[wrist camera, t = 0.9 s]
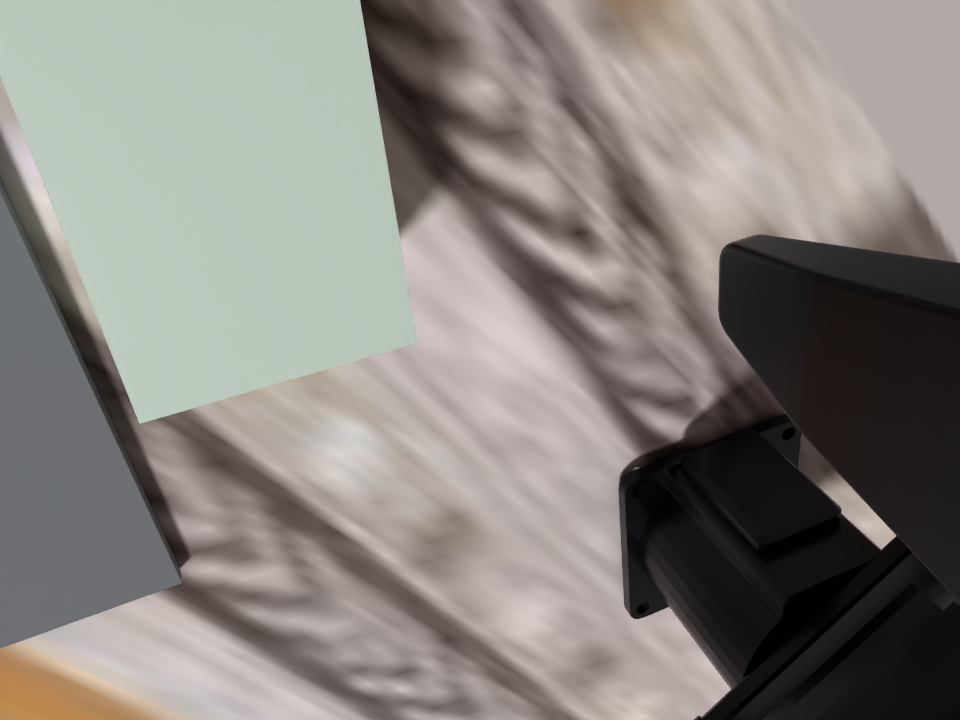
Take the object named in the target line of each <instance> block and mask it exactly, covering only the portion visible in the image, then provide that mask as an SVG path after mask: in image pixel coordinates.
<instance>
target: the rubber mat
mask: <svg viewBox="0 0 960 720" xmlns="http://www.w3.org/2000/svg"><path fill="white" fill-rule="evenodd" d="M181 583H182V579H181V572H180V568H179V566H178V564H177V562H176V560H175V557H174V555H173V553H172V551H171V549H170V547H169V544H168V542H167V540H166V538H165V536H164V533H163V531H162V529H161V527H160V525H159V523H158V520H157V518H156V516H155V514H154V512H153V510H152V507H151V505H150V503H149V501H148V499H147V497H146V494H145V492H144V490H143V488H142V486H141V484H140V481H139V479H138V477H137V475H136V473H135V471H134V468H133V466H132V464H131V462H130V460H129V458H128V455H127V453H126V451H125V449H124V447H123V445H122V442H121V440H120V438H119V436H118V434H117V432H116V429H115V427H114V425H113V423H112V421H111V418H110V416H109V414H108V412H107V410H106V408H105V405H104V403H103V401H102V399H101V397H100V395H99V392H98V390H97V388H96V386H95V384H94V382H93V379H92V377H91V375H90V373H89V371H88V369H87V366H86V364H85V362H84V360H83V358H82V356H81V353H80V351H79V349H78V347H77V345H76V343H75V340H74V338H73V336H72V334H71V332H70V330H69V327H68V325H67V323H66V321H65V319H64V317H63V314H62V312H61V310H60V308H59V306H58V303H57V301H56V299H55V297H54V295H53V293H52V290H51V288H50V286H49V284H48V282H47V280H46V277H45V275H44V273H43V271H42V269H41V267H40V264H39V262H38V260H37V258H36V256H35V254H34V251H33V249H32V247H31V245H30V243H29V241H28V238H27V236H26V234H25V232H24V230H23V228H22V225H21V223H20V221H19V219H18V217H17V215H16V212H15V210H14V208H13V206H12V204H11V202H10V199H9V197H8V195H7V193H6V191H5V189H4V186H3V184H2V182H1V180H0V648H3V647H6V646H8V645H11V644H14V643H17V642H19V641H22V640H25V639H28V638H31V637H33V636H36V635H39V634H42V633H44V632H47V631H50V630H53V629H56V628H58V627H61V626H64V625H67V624H69V623H72V622H75V621H78V620H81V619H83V618H86V617H89V616H92V615H94V614H97V613H100V612H103V611H106V610H108V609H111V608H114V607H117V606H119V605H122V604H125V603H128V602H131V601H133V600H136V599H139V598H142V597H144V596H147V595H150V594H153V593H156V592H158V591H161V590H164V589H167V588H169V587H172V586H175V585H178V584H181Z"/></svg>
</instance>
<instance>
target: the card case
mask: <svg viewBox="0 0 960 720" xmlns="http://www.w3.org/2000/svg"><path fill="white" fill-rule="evenodd" d="M0 76H1V79H2V81H3V84H4V86H5V89H6V91H7V94H8V96H9V99H10V101H11V104H12V106H13V109H14V111H15V114H16V116H17V119H18V121H19V124H20V126H21V129H22V131H23V134H24V136H25V139H26V141H27V144H28V146H29V149H30V151H31V154H32V156H33V159H34V161H35V164H36V166H37V169H38V171H39V174H40V176H41V179H42V181H43V184H44V186H45V189H46V191H47V194H48V196H49V199H50V201H51V204H52V206H53V209H54V211H55V214H56V216H57V219H58V221H59V224H60V226H61V229H62V231H63V234H64V236H65V239H66V241H67V244H68V246H69V249H70V251H71V254H72V256H73V259H74V261H75V264H76V266H77V269H78V271H79V274H80V276H81V279H82V281H83V283H84V286H85V288H86V291H87V293H88V296H89V298H90V301H91V303H92V306H93V308H94V311H95V313H96V316H97V318H98V321H99V323H100V326H101V328H102V331H103V333H104V336H105V338H106V341H107V343H108V346H109V348H110V351H111V353H112V356H113V358H114V361H115V363H116V366H117V368H118V371H119V373H120V376H121V378H122V381H123V383H124V386H125V388H126V391H127V393H128V396H129V398H130V401H131V403H132V406H133V408H134V411H135V413H136V416H137V418H138V421H139V423H144V422H147V421H151V420H154V419H158V418H161V417H164V416H168V415H171V414H175V413H178V412H182V411H185V410H189V409H192V408H195V407H199V406H202V405H206V404H209V403H213V402H216V401H219V400H223V399H226V398H230V397H233V396H237V395H240V394H243V393H247V392H250V391H254V390H257V389H261V388H264V387H267V386H271V385H274V384H278V383H281V382H285V381H288V380H292V379H295V378H298V377H302V376H305V375H309V374H312V373H316V372H319V371H322V370H326V369H329V368H333V367H336V366H340V365H343V364H346V363H350V362H353V361H357V360H360V359H364V358H367V357H371V356H374V355H377V354H381V353H384V352H388V351H391V350H395V349H398V348H401V347H405V346H408V345H412V344H415V343H417V338H416V332H415V326H414V320H413V314H412V308H411V302H410V296H409V290H408V284H407V278H406V272H405V266H404V260H403V254H402V248H401V242H400V236H399V230H398V224H397V218H396V212H395V206H394V200H393V195H392V189H391V183H390V177H389V171H388V165H387V159H386V153H385V147H384V141H383V135H382V129H381V123H380V117H379V111H378V105H377V99H376V93H375V87H374V81H373V75H372V69H371V63H370V57H369V51H368V45H367V39H366V33H365V27H364V21H363V15H362V9H361V3H360V0H0Z"/></svg>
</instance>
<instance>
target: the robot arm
mask: <svg viewBox="0 0 960 720" xmlns="http://www.w3.org/2000/svg"><path fill="white" fill-rule="evenodd" d="M718 312H719V318H720V322H721V325H722V327H723V329H724V331H725V332H726V334H727V335H728V337H729V338H730V339H731V341H732V342H733V343H734V345H735V346H736V347H737V349H738V350H739V351H740V353H741V354H742V356H743V357H744V358H745V360H746V361H747V362H748V364H749V365H750V366H751V368H752V369H753V370H754V372H755V373H756V374H757V376H758V377H759V378H760V380H761V381H762V382H763V384H764V385H765V386H766V388H767V389H768V390H769V392H770V393H771V394H772V396H773V397H774V398H775V400H776V401H777V402H778V404H779V405H780V406H781V408H782V409H783V411H784V412H785V413H786V414H785V415H781V416H778V417H775V418H773V419H770V420H767V421H765V422H762V423H759V424H757V425H754V426H751V427H749V428H746V429H744V430H741V431H738V432H736V433H733V434H730V435H728V436H725V437H722V438H720V439H717V440H714V441H712V442H709V443H706V444H704V445H701V446H698V447H696V448H693V449H690V450H688V451H685V452H682V453H680V454H677V455H674V456H672V457H669V458H666V459H664V460H661V461H658V462H656V463H653V464H650V465H648V466H645V467H642V468H640V469H637V470H634V471H632V472H630V473H628V474H627V475H625V476H624V477H623V478H622V480H621V482H620V483H619V507H620V527H621V547H622V567H623V587H624V605H625V608H626V610H627V611H628V613H629V614H630V616H631V617H632V618H634V619H640V618H643V617H646V616H648V615H651V614H653V613H655V612H658V611H660V610H662V609H665V608H667V607H670V608H671V609H672V611H673V612H674V613H675V615H676V616H677V617H678V619H679V620H680V621H681V623H682V624H683V625H684V627H685V628H686V629H687V631H688V632H689V633H690V635H691V636H692V637H693V639H694V640H695V641H696V643H697V644H698V645H699V647H700V648H701V649H702V651H703V652H704V653H705V655H706V656H707V658H708V659H709V660H710V662H711V663H712V664H713V666H714V667H715V668H716V670H717V671H718V672H719V674H720V675H721V676H722V678H723V679H724V680H725V682H726V683H727V684H728V686H729V687H730V688H731V690H730V691H729V692H728V693H727V694H726V695H725V696H724V697H723V698H722V699H721V700H720V701H719V702H717V703H716V704H715V705H714V706H713V707H712V708H711V709H710V710H709V711H708V712H707V713H706V714H705V715H703V716H702V717H700V716H697V717H696V718H695V719H694V720H960V263H955V262H949V261H942V260H935V259H928V258H921V257H914V256H907V255H900V254H893V253H886V252H879V251H872V250H866V249H859V248H852V247H845V246H838V245H831V244H824V243H817V242H810V241H803V240H796V239H789V238H782V237H776V236H769V235H753V236H750V237H747V238H744V239H741V240H738V241H734V242H731V243H729V244H727V245H726V246H725V247H724V248H723V250H722V252H721V255H720V262H719V300H718ZM801 433H802V434H803V435H804V436H805V437H806V439H807V440H808V441H809V442H810V443H811V444H812V445H813V446H814V447H815V449H816V450H817V451H818V452H819V453H820V454H821V455H822V456H823V457H824V458H825V459H826V460H827V461H828V462H829V464H830V465H831V466H832V467H833V468H834V469H835V470H836V471H837V472H838V473H839V474H840V475H841V476H842V478H843V479H844V480H845V481H846V482H847V483H848V484H849V485H850V486H851V487H852V488H853V489H854V490H855V491H856V493H857V494H858V495H859V496H860V497H861V498H862V499H863V500H864V501H865V502H866V503H867V504H868V505H869V506H870V508H871V509H872V510H873V511H874V512H875V513H876V514H877V515H878V516H879V517H880V518H881V519H882V520H883V521H884V523H885V524H886V525H887V526H888V527H889V528H890V529H891V530H892V531H893V532H894V533H895V534H896V535H897V536H896V537H895V538H894V539H893V540H892V541H891V542H889V543H888V544H887V545H886V546H885V547H884V548H883V549H882V550H881V549H880V548H879V547H878V546H877V545H875V544H874V543H873V542H872V541H871V540H870V539H869V538H868V537H867V536H866V535H865V534H863V533H862V532H861V531H860V530H859V529H858V528H857V527H856V526H855V525H854V524H852V523H851V522H850V521H849V520H848V519H847V518H846V517H845V516H844V515H843V514H842V513H841V510H842V509H841V508H840V506H839V505H838V504H837V503H836V502H835V501H834V500H833V499H831V498H830V497H829V496H828V495H827V494H826V493H825V492H824V491H823V490H821V489H820V488H819V487H818V486H817V485H816V484H815V483H814V482H813V481H812V480H810V479H809V478H808V477H807V476H806V475H805V474H804V473H803V472H802V471H800V470H799V469H798V468H797V467H798V458H799V448H800V438H801ZM636 486H637V487H636ZM635 487H636V488H635Z"/></svg>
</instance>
